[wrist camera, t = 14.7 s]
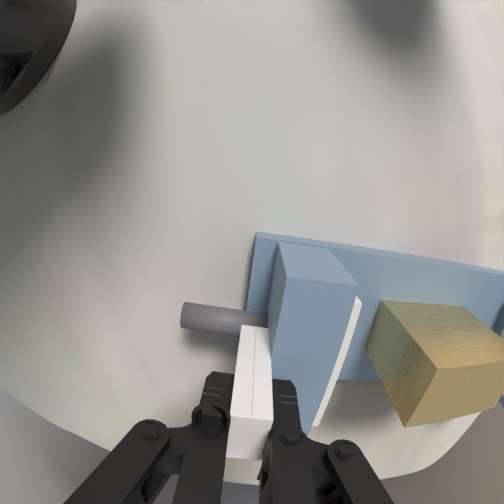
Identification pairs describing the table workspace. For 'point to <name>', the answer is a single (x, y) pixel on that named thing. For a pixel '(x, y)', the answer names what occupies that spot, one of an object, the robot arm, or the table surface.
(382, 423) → the table surface
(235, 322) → the free jaw
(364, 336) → the vise
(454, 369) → the wooden block
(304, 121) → the table surface
